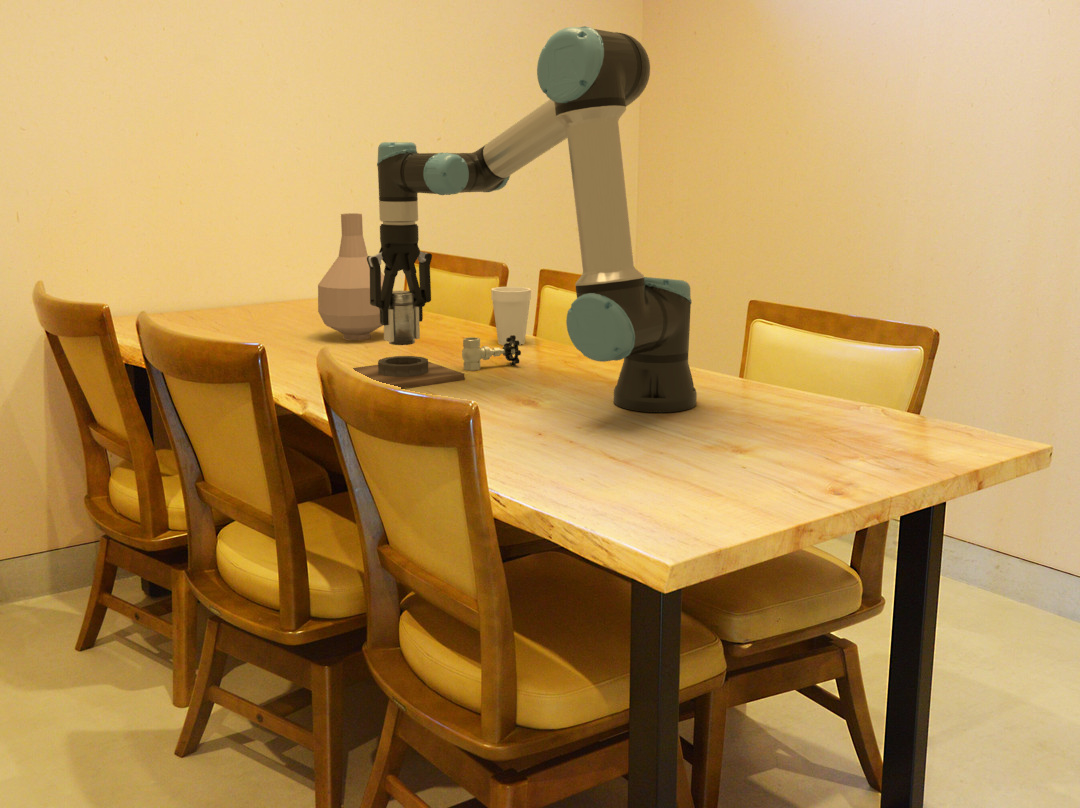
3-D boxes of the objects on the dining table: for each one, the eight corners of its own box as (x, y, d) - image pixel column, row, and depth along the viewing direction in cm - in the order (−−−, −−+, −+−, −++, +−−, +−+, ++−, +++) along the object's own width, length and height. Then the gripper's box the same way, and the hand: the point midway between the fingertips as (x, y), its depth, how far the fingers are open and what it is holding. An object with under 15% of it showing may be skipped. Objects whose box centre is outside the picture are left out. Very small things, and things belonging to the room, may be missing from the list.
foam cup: (487, 345, 241) (486, 291, 238) (497, 338, 250) (497, 286, 247) (525, 347, 239) (525, 292, 236) (535, 340, 248) (535, 287, 244)
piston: (419, 343, 206) (418, 292, 203) (396, 346, 203) (395, 295, 200) (407, 339, 210) (406, 289, 207) (384, 342, 207) (382, 291, 204)
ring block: (464, 379, 206) (464, 362, 205) (384, 391, 196) (384, 374, 195) (420, 364, 220) (420, 348, 219) (343, 374, 210) (343, 358, 209)
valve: (468, 373, 212) (521, 368, 217) (467, 342, 211) (521, 337, 216) (457, 367, 218) (509, 362, 223) (456, 336, 217) (508, 332, 221)
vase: (400, 341, 246) (396, 215, 239) (327, 346, 240) (320, 217, 233) (383, 329, 262) (379, 211, 255) (314, 334, 256) (308, 212, 248)
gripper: (429, 220, 208) (431, 332, 214) (348, 223, 198) (352, 341, 204) (448, 222, 203) (450, 337, 208) (365, 226, 192) (369, 347, 198)
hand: (402, 339), depth 206 cm, fingers closed on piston, 5 cm apart
